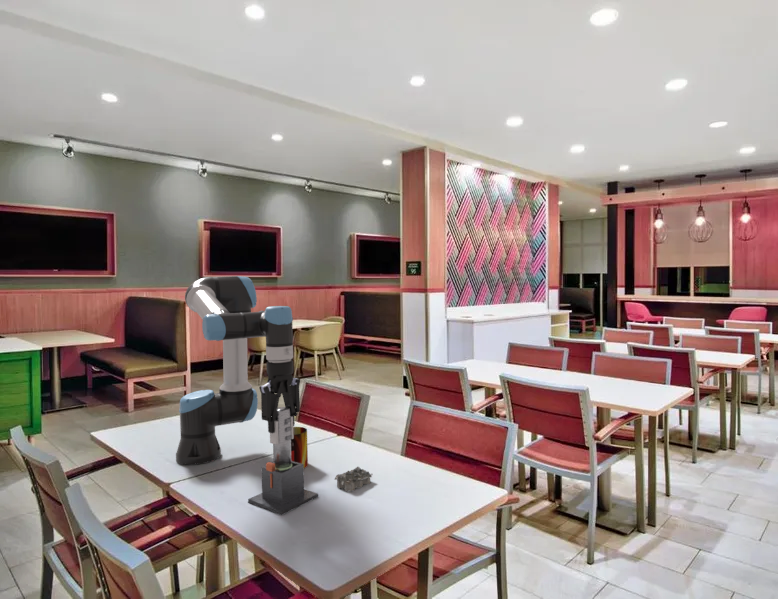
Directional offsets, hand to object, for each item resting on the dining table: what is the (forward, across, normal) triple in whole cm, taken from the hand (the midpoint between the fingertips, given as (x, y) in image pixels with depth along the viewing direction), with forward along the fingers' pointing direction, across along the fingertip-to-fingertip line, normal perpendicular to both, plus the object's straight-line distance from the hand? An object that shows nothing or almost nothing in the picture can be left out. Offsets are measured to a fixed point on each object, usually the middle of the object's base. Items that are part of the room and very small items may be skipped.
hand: (282, 440), depth 151 cm
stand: (+17, 0, 0) cm, 17 cm away
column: (+11, 0, 0) cm, 11 cm away
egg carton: (+18, +20, -10) cm, 28 cm away
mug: (+18, +20, +16) cm, 31 cm away
